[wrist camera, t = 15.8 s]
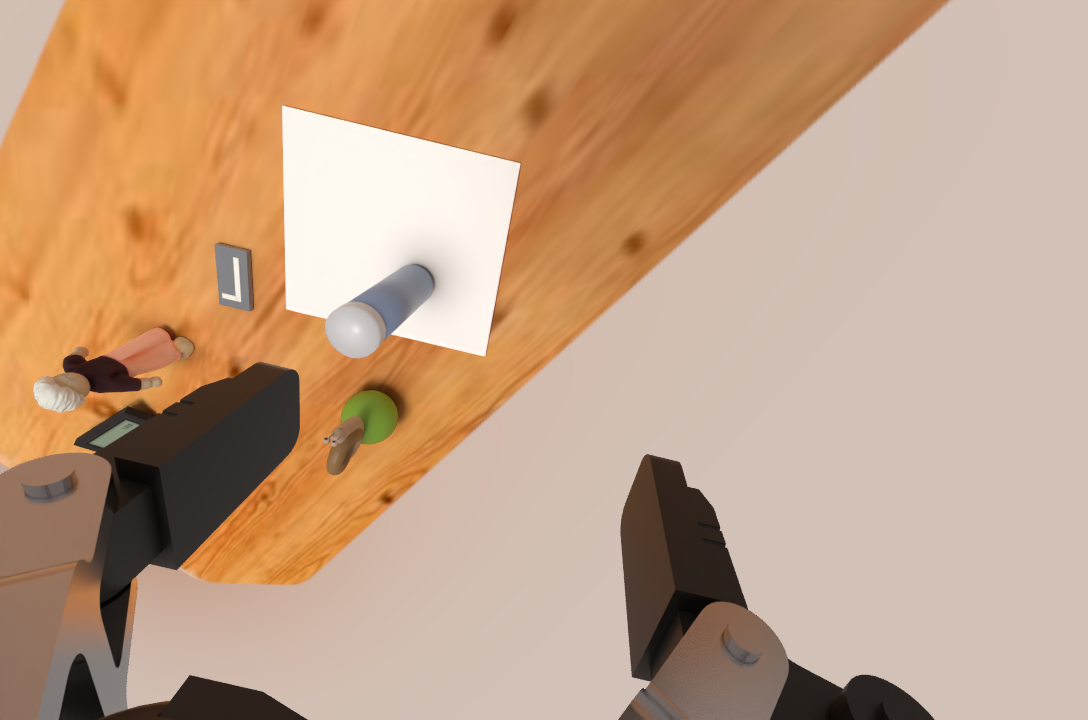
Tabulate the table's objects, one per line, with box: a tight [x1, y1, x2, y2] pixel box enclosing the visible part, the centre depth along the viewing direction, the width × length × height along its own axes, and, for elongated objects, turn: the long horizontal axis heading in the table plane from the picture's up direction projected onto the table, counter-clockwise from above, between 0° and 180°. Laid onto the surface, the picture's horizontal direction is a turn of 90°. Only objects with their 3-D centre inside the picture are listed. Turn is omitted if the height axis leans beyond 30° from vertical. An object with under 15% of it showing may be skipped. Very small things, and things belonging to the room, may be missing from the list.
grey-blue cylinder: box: [325, 264, 434, 358], centre depth 38 cm, size 4×4×13 cm
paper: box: [282, 106, 521, 356], centre depth 43 cm, size 18×20×1 cm
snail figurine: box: [323, 390, 398, 475], centre depth 45 cm, size 5×6×12 cm
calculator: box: [74, 406, 153, 452], centre depth 55 cm, size 9×12×3 cm
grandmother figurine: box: [33, 327, 194, 412], centre depth 43 cm, size 8×4×13 cm, turn 76°
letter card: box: [215, 243, 254, 311], centre depth 45 cm, size 6×3×1 cm, turn 168°
